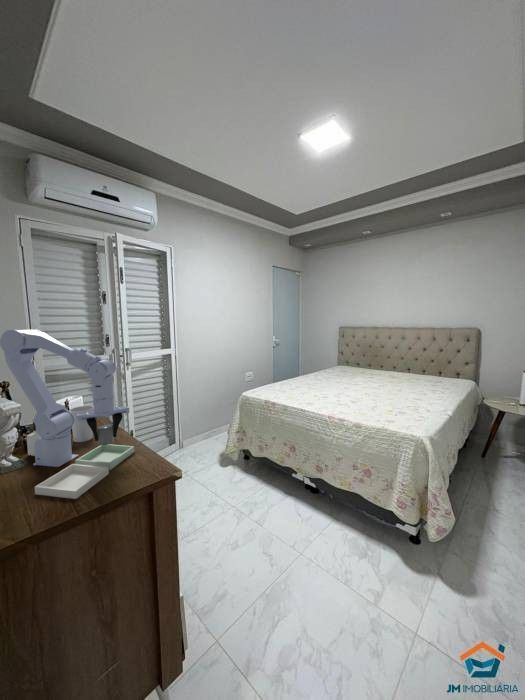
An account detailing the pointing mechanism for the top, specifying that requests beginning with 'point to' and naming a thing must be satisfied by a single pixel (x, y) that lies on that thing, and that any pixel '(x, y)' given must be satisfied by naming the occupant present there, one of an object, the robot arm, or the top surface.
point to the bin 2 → (106, 455)
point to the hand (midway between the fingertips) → (105, 438)
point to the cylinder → (105, 434)
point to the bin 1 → (72, 481)
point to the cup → (81, 425)
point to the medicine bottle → (32, 441)
